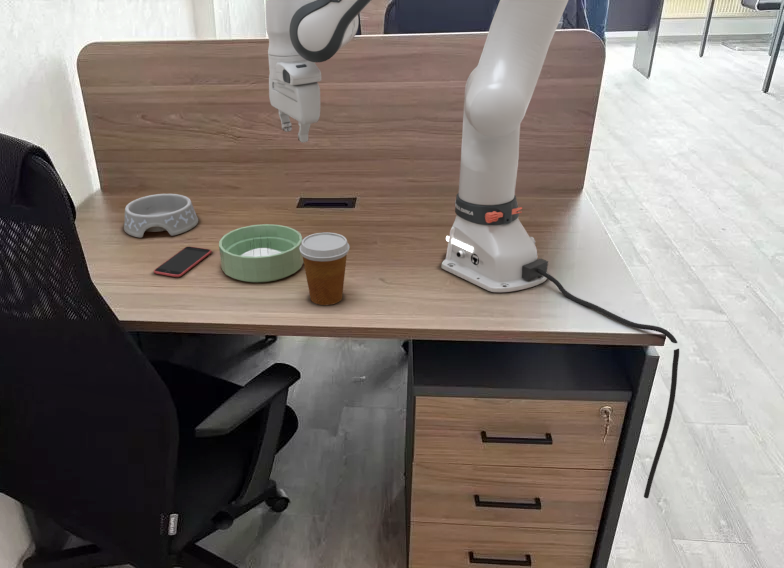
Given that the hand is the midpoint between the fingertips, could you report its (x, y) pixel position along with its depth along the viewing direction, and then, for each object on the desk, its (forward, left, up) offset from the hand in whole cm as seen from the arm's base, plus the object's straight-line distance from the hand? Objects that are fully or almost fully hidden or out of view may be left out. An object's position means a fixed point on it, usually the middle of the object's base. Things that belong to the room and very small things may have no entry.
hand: (294, 136), depth 154 cm
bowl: (-8, +12, -24) cm, 28 cm away
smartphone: (+2, +27, -24) cm, 37 cm away
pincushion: (-8, +12, -24) cm, 28 cm away
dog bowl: (+27, +26, -24) cm, 45 cm away
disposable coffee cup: (-28, +6, -24) cm, 38 cm away
